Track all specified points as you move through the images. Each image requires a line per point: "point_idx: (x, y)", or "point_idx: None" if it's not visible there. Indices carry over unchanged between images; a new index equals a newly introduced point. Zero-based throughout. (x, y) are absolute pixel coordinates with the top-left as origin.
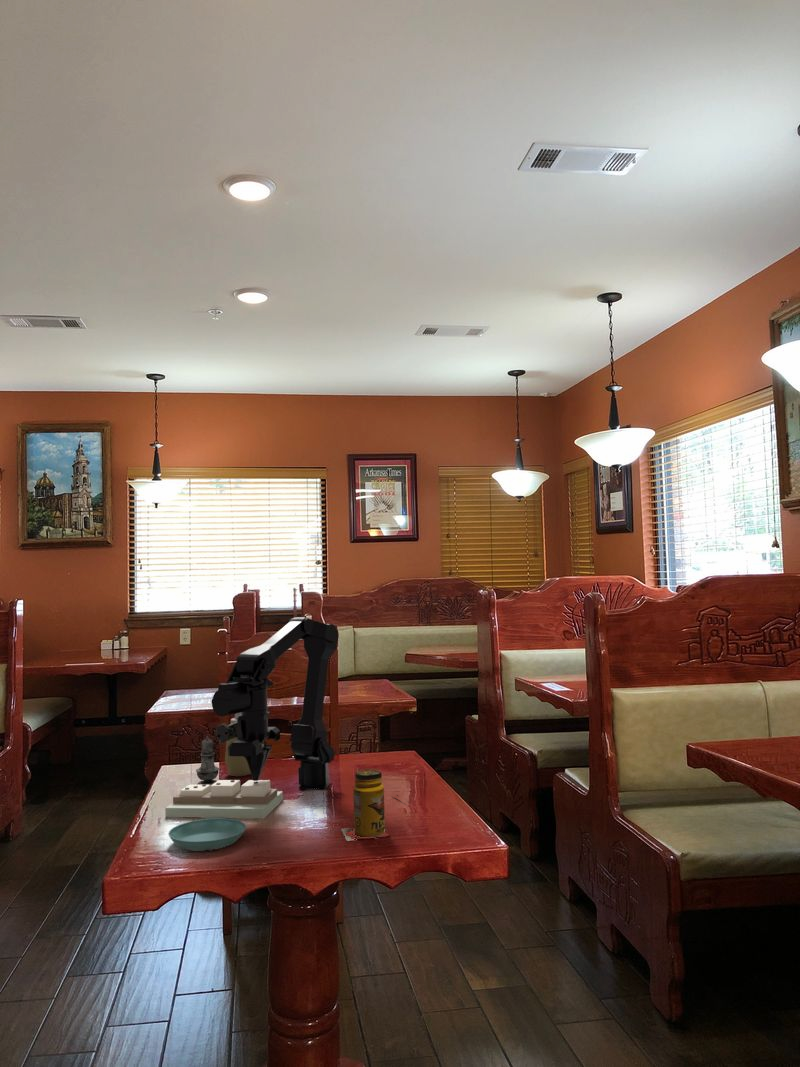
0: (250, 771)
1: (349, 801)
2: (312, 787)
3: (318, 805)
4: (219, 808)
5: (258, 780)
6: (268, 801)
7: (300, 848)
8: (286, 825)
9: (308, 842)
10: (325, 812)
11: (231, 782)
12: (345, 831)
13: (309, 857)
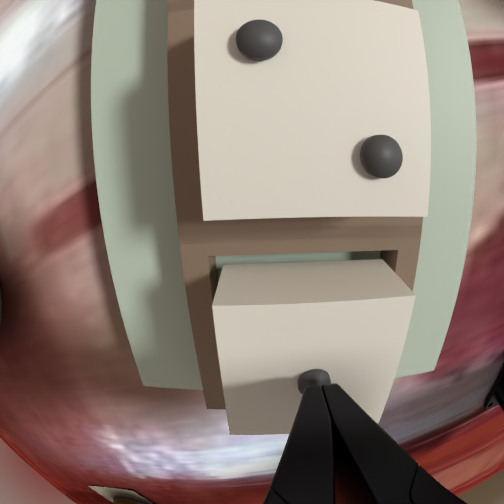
0: (285, 447)
1: None
2: (499, 382)
3: None
4: (95, 166)
5: (389, 369)
6: None
7: (25, 434)
8: (116, 421)
9: (52, 447)
10: (257, 474)
11: (344, 156)
12: (128, 492)
13: (11, 439)
